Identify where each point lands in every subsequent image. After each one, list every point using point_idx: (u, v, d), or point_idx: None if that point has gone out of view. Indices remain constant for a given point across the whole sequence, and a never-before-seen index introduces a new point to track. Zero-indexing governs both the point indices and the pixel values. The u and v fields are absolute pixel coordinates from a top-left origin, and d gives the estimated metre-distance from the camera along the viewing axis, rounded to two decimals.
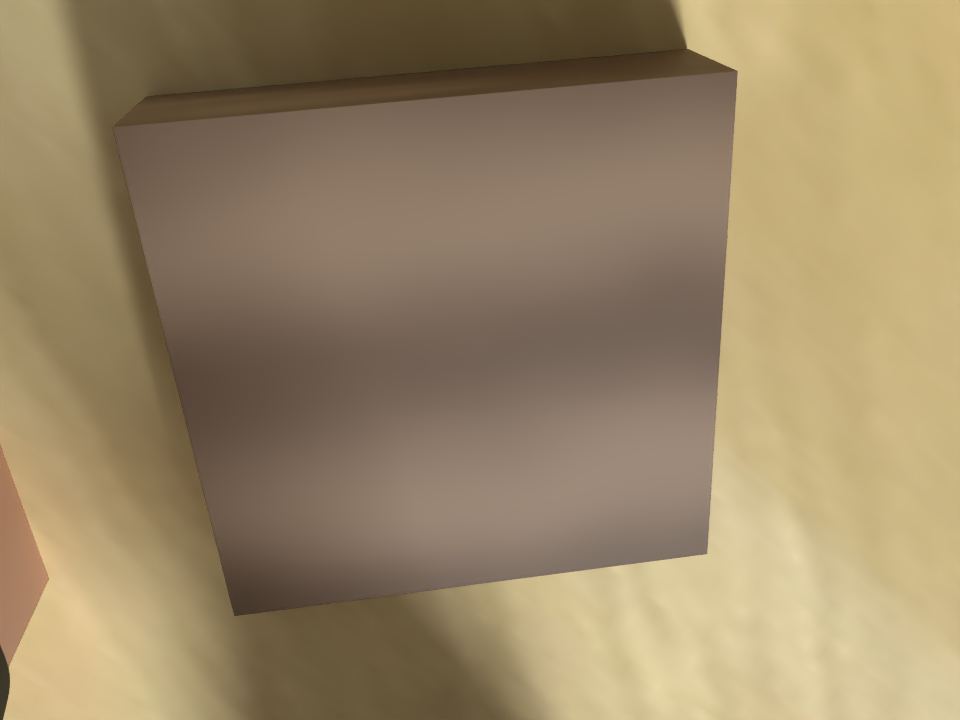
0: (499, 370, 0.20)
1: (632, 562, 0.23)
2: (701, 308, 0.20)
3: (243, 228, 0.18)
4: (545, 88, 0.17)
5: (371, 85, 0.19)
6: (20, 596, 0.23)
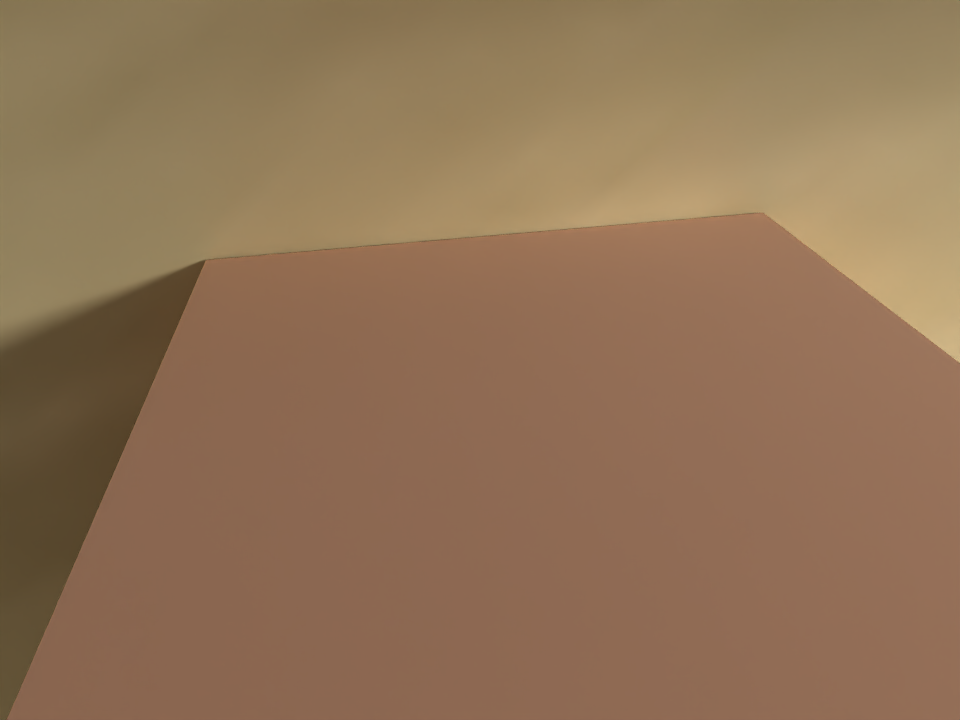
0: None
1: None
2: None
3: None
4: None
5: None
6: (745, 289, 0.07)
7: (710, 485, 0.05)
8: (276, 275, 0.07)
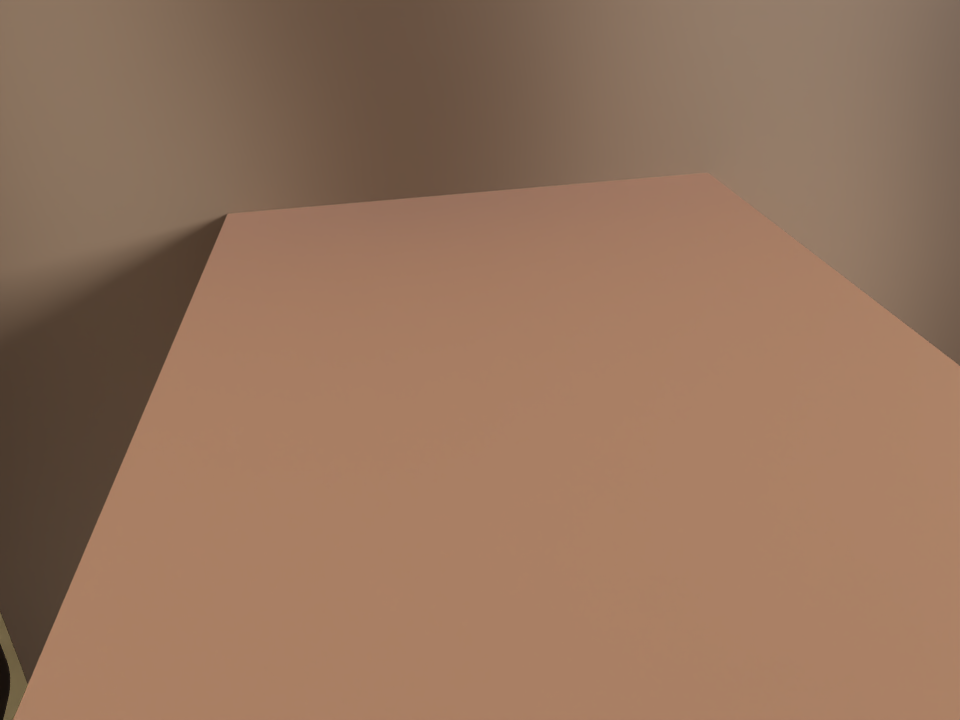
0: None
1: None
2: None
3: None
4: None
5: None
6: (683, 229, 0.08)
7: (633, 361, 0.06)
8: (287, 223, 0.09)
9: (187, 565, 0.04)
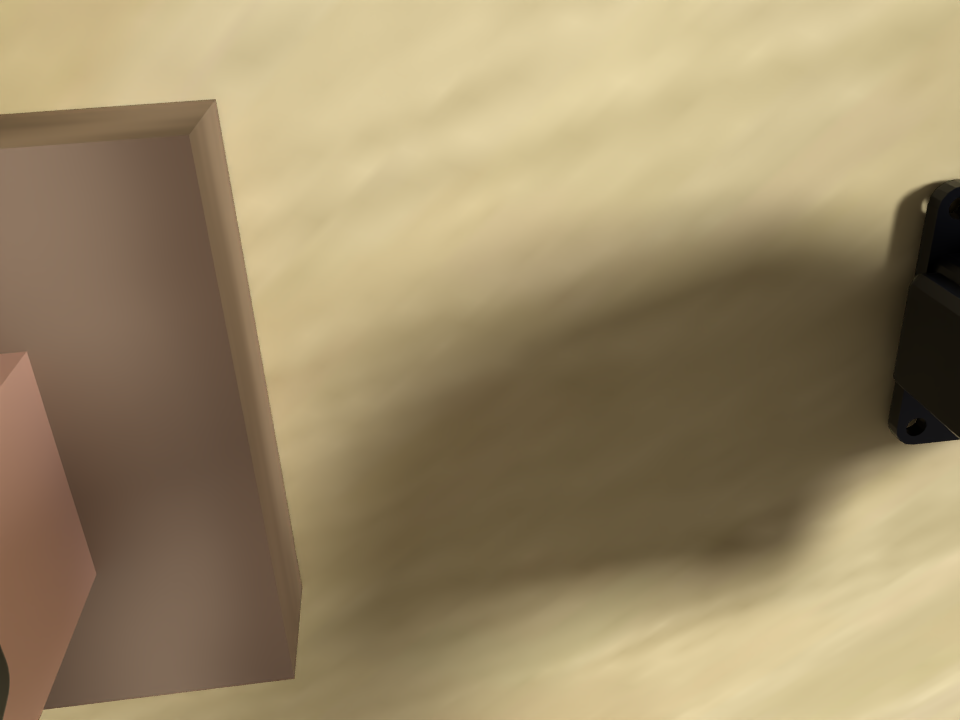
0: None
1: (211, 248, 0.15)
2: None
3: None
4: None
5: None
6: None
7: None
8: None
9: None
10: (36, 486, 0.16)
